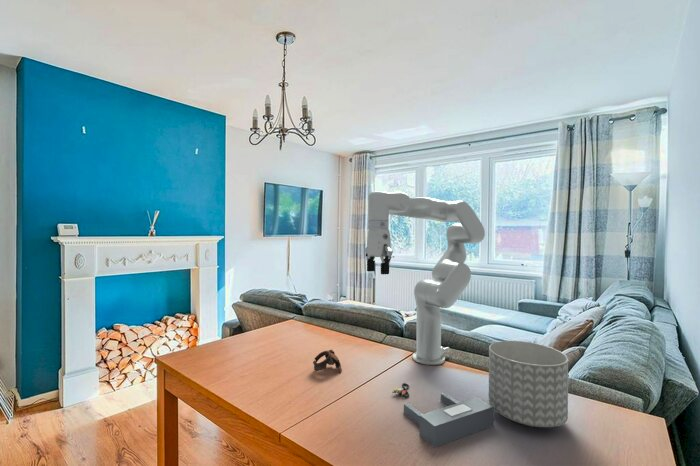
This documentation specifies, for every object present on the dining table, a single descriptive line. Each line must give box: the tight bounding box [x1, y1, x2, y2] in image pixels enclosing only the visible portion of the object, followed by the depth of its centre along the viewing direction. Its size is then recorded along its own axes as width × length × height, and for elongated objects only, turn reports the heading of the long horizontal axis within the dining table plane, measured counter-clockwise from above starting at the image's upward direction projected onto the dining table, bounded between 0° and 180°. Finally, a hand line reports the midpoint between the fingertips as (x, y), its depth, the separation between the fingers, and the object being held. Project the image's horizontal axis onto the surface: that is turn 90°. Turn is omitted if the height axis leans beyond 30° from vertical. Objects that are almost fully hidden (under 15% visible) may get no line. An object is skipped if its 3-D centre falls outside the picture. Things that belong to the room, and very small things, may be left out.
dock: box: [403, 392, 495, 448], centre depth 90 cm, size 20×16×5 cm
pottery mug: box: [312, 349, 343, 374], centre depth 122 cm, size 12×9×8 cm
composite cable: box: [391, 382, 410, 399], centre depth 106 cm, size 10×5×2 cm, turn 150°
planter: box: [488, 340, 569, 428], centre depth 91 cm, size 19×19×18 cm
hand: (377, 272), depth 122 cm, fingers open, 9 cm apart
